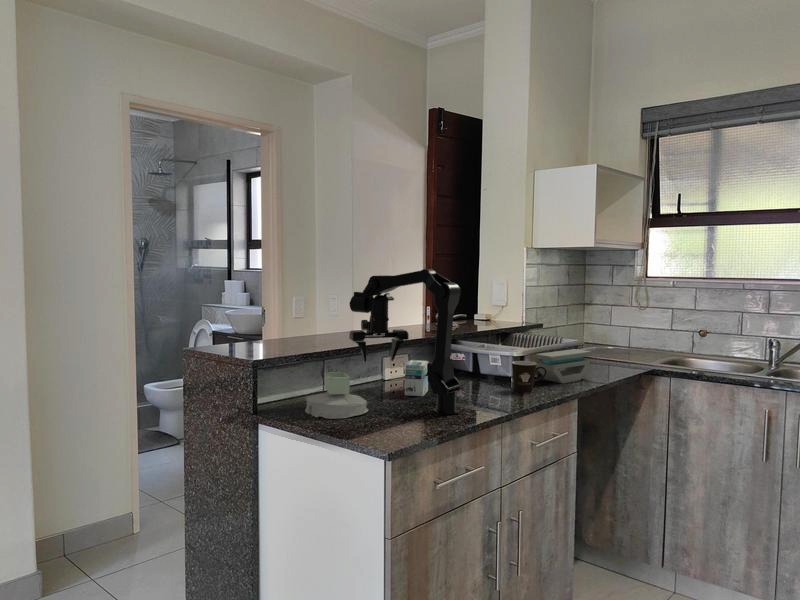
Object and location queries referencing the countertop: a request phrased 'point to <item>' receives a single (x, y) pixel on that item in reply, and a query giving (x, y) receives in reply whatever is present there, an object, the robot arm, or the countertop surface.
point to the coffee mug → (524, 375)
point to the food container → (335, 405)
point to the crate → (337, 382)
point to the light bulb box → (416, 378)
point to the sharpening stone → (564, 365)
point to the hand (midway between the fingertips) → (378, 361)
